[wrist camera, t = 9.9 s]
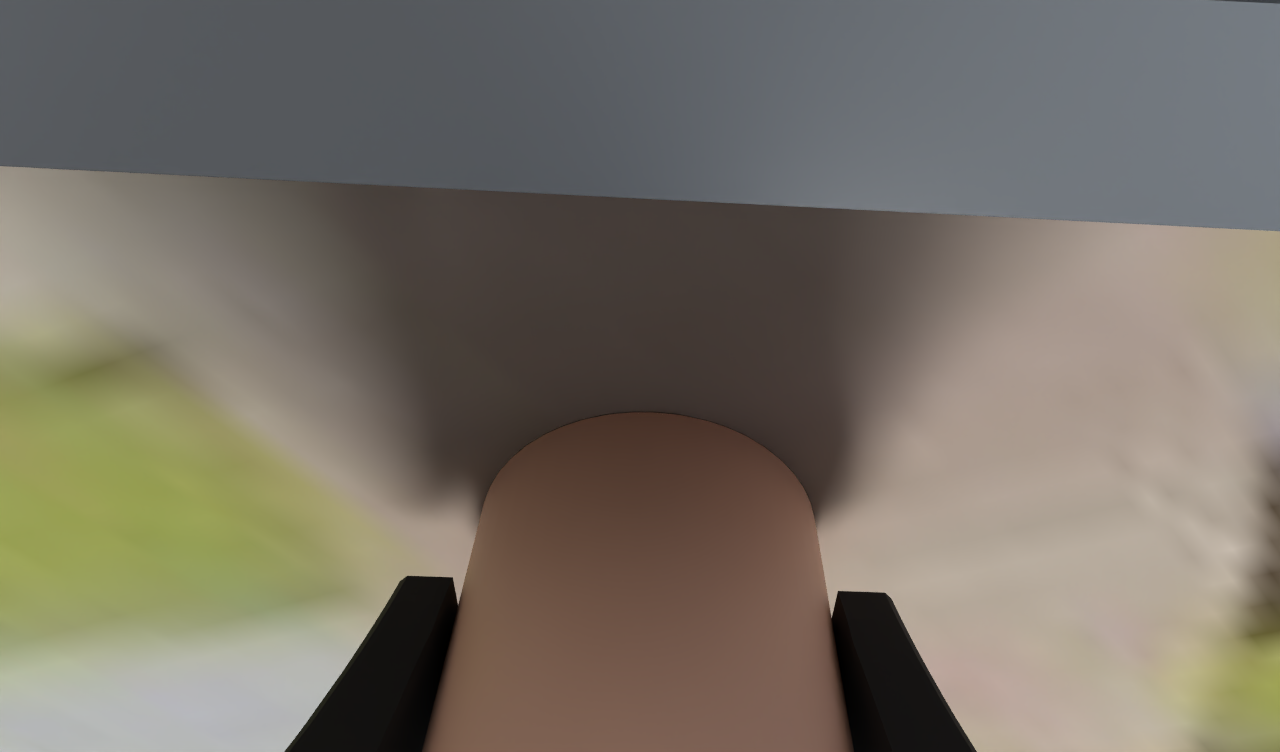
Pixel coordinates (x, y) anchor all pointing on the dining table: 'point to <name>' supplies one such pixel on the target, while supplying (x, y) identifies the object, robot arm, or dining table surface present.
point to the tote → (675, 100)
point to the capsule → (643, 601)
